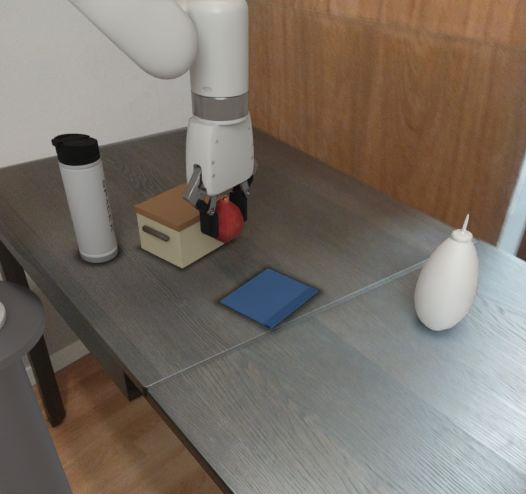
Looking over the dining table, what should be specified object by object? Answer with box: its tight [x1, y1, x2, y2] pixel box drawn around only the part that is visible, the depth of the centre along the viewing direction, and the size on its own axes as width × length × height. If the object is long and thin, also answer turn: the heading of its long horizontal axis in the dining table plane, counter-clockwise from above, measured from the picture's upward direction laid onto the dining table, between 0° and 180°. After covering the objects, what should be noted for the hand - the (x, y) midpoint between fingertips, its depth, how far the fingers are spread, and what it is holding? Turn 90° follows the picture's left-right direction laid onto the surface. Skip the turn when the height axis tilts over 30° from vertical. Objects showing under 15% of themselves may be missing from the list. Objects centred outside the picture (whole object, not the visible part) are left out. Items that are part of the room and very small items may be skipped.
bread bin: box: [134, 181, 226, 269], centre depth 91 cm, size 13×10×8 cm
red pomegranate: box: [215, 194, 245, 244], centre depth 82 cm, size 6×6×8 cm
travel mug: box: [50, 133, 119, 264], centre depth 85 cm, size 6×7×20 cm
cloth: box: [219, 267, 319, 330], centre depth 83 cm, size 12×10×1 cm
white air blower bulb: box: [413, 213, 480, 332], centre depth 73 cm, size 8×8×18 cm
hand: (224, 225), depth 83 cm, fingers closed on red pomegranate, 5 cm apart
